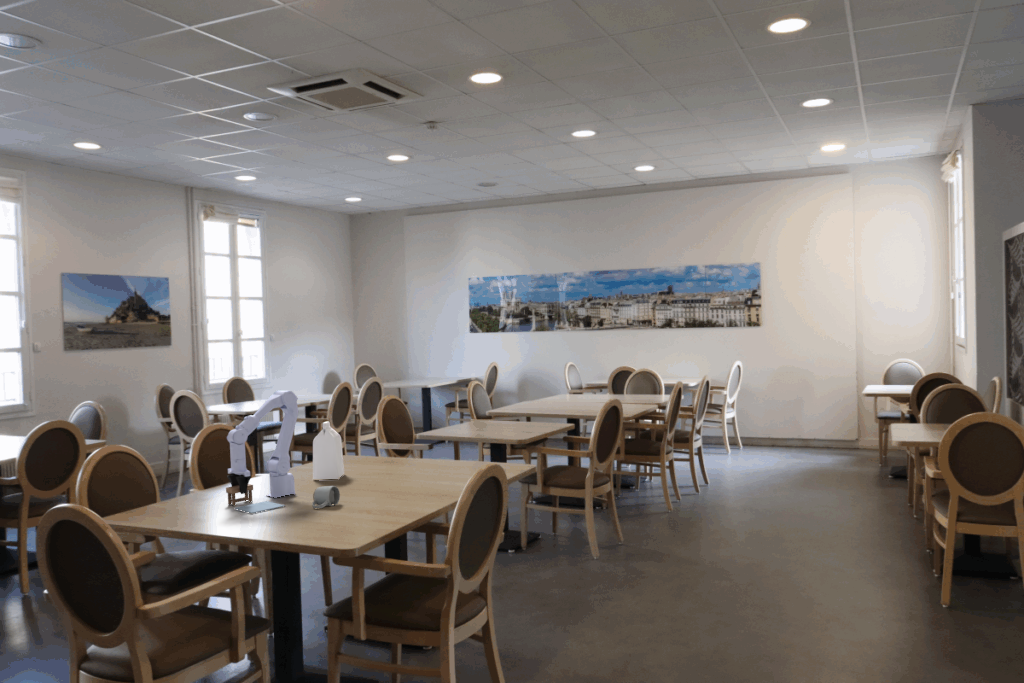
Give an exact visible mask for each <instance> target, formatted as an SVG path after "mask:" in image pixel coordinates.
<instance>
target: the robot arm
mask: <svg viewBox="0 0 1024 683" xmlns="http://www.w3.org/2000/svg"><path fill="white" fill-rule="evenodd" d="M276 408H280V410H282V412H283V414H284V415H283V419H282V423H281V427H280V430H279V435H278V438H277V442H276V445H275V448H274V450H273V452H272V453H271V455H270V457H269V459H268V460H267V462H266V465H265V466H266V471H268V472H269V490H270V491H269V492H270V493H269V494H266V497H268V496H270V497H269V498H273V497H274V499H278V498H277V497H280V498H282V497H281V496H284V497H286V496H285V495H289V496H291V495H290V494H294V495H296V494H295V493H296V490H295V485H296V484H295V476H294V475H293V473H291V472H290V470H291V464H290V460H291V456H290V454H289V450H290V447H291V443H292V439H293V435H294V432H295V427H296V423H297V421H298V420H297V419H298V416H299V407H298V397H297V395H296V393H295V392H293V391H292V390H281V389H278V390H275V391H274V392H273V394H271V395H270V396H269V397H268V398H267V400H266V401H265V402H264V403H263V404H262V405H261V406H260V407H259V408H258V410H256V411H255V413H254V414H253V415H252V414H250V415H247V416H244V418H243V421H241V422H240V423H239V424H237V425H236V426H235V428H234V429H231V430H230V431H229V432H228V434H227V436H226V440H227V442H228V443H229V450H230V451H229V452H230V456H229V457H230V468H227V474H228V475H226V477H227V479H228V481H229V483H230V484H231V486H230V487H232V486H237V485H239V488H240V493H239V494H240V495H245V493H246V492H247V487H248V484H249V482H250V480H251V479H252V475H251V471H250V470H248V468H247V460H246V442H247V441H248V436H249V435H251V434H252V433H253V432H254V431H255V430H256V429H257V428H258V427H259V426H260V421H261V420H262V419H263V418H264V417H265V416H266V415H267V414H269V413H270V412H271V411H272V410H273V409H276Z"/></svg>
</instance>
